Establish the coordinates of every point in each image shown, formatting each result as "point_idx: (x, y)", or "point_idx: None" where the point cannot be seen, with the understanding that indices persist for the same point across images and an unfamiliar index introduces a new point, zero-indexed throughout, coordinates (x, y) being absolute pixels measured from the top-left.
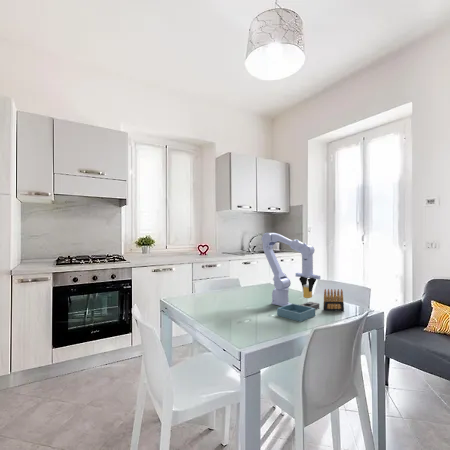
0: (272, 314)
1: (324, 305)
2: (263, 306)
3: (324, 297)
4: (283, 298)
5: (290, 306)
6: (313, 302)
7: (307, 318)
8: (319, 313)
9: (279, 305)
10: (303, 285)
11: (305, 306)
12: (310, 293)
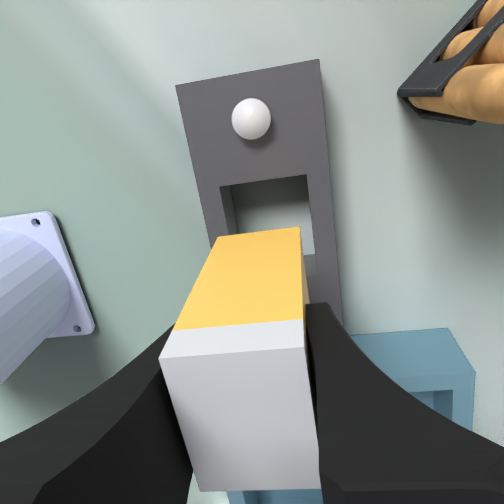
0: (213, 500)
1: (448, 120)
2: (15, 423)
3: (494, 122)
4: (26, 355)
5: None
6: (267, 128)
7: None
8: (437, 242)
9: (50, 336)
10: (205, 481)
11: None
12: (307, 300)
